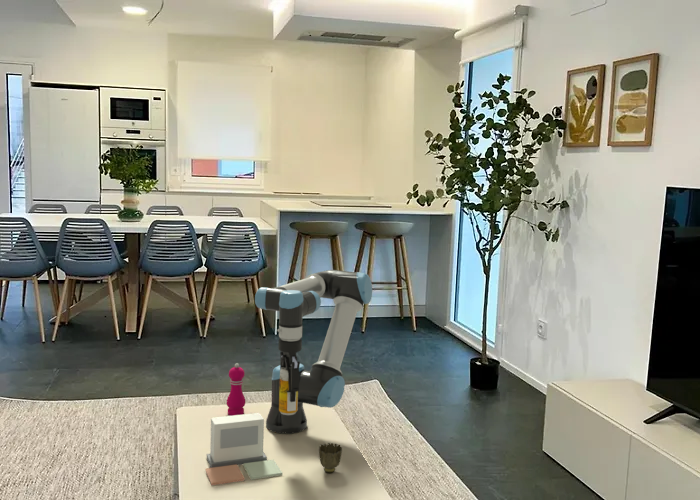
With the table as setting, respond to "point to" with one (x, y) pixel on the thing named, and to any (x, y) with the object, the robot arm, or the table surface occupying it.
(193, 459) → the table surface
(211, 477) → the terracotta pad
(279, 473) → the sage pad
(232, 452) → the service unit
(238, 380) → the pepper mill
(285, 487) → the table surface
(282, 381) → the beer can
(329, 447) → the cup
